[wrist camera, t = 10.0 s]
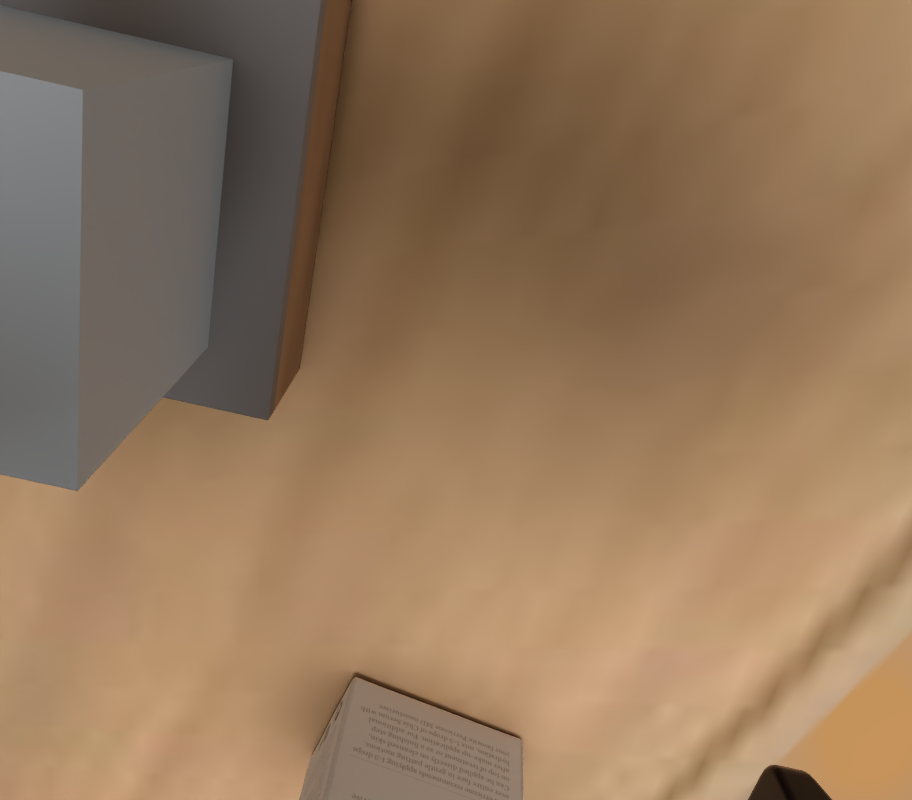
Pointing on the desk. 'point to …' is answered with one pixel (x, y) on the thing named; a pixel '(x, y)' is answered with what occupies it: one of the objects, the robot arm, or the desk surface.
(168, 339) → the cube
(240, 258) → the base
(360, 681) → the skincare box
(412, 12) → the desk surface
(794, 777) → the robot arm
